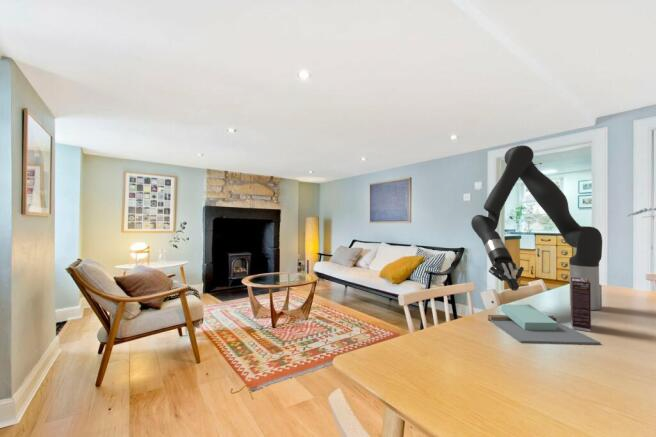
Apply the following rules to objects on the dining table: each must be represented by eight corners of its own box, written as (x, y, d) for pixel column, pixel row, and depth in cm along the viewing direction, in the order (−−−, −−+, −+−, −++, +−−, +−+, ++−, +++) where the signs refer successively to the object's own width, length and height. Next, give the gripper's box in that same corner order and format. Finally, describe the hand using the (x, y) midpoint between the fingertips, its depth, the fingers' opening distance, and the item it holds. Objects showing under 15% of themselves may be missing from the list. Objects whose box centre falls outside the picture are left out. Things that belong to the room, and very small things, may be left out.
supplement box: (591, 332, 93) (591, 282, 93) (572, 329, 96) (571, 280, 96) (588, 324, 100) (588, 278, 100) (570, 321, 103) (569, 276, 103)
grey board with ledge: (488, 319, 105) (488, 314, 105) (552, 321, 104) (552, 315, 104) (520, 342, 85) (520, 336, 85) (600, 344, 84) (600, 338, 84)
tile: (501, 304, 107) (525, 322, 93) (529, 304, 107) (557, 322, 93) (501, 310, 108) (524, 329, 94) (528, 311, 107) (556, 330, 93)
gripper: (484, 246, 117) (500, 283, 105) (518, 246, 116) (538, 283, 104) (478, 258, 123) (493, 294, 110) (510, 258, 122) (529, 295, 109)
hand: (515, 289), depth 107 cm, fingers closed
